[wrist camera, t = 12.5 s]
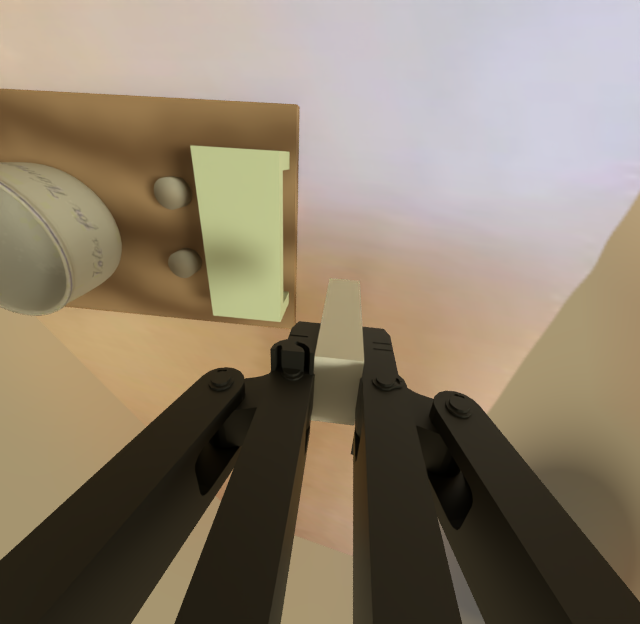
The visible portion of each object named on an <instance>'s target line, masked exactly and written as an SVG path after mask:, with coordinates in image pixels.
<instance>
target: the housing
mask: <svg viewBox="0 0 640 624" xmlns="http://www.w3.org/2000/svg"><path fill="white" fill-rule="evenodd" d="M190 148H191V155H192V163H193V170H194V177H195V185H196V192H197V199H198V207H199V214H200V222H201V229H202V236H203V244H204V251H205V258H206V266H207V273H208V281H209V288H210V295H211V303H212V310H213V315H214V316H224V317H234V318H244V319H254V320H264V321H274V322H281V320H282V318H283V315H284V313H285V311H286V308H287V306H288V304H289V292H283V170H288V169H289V158H290V152H286V151H270V150H255V149H239V148H223V147H207V146H191V145H190Z"/></svg>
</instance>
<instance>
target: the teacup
mask: <svg viewBox="0 0 640 624" xmlns="http://www.w3.org/2000/svg"><path fill="white" fill-rule="evenodd" d="M121 253H122V242H121V236H120V233H119V230H118V227H117V225H116V222H115V220H114V218H113V216H112V214H111V213H110V211H109V210H108V208H107V207H106V205H105V204H104V203H103V202H102V200H101V199H100V198H99V197H98V196H97V195H96V194H95V193H94V192H93V191H92V190H91V189H90V188H89V187H87V186H86V185H85V184H84V183H82V182H81V181H79V180H78V179H76V178H75V177H73V176H71V175H70V174H68V173H66V172H64V171H61V170H59V169H56V168H54V167H50V166H46V165H42V164H36V163H27V162H0V307H1V308H4V309H7V310H9V311H12V312H15V313H19V314H23V315H32V316H41V315H48V314H51V313H54V312H56V311H58V310H60V309H61V308H63V307H64V306H65V305H66V304H67V303H69V302H71V301H73V300H75V299H76V298H78V297H80V296H82V295H84V294H85V293H87V292H89V291H91V290H92V289H94V288H95V287H97V286H99V285H100V284H102V283H103V282H104V281H106V280H107V279H108V278H109V277H110V276H111V275H112V274H113V273H114V272H115V270H116V268H117V267H118V265H119V262H120V259H121Z"/></svg>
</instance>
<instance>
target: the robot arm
mask: <svg viewBox="0 0 640 624" xmlns="http://www.w3.org/2000/svg"><path fill="white" fill-rule="evenodd" d="M311 420H313V421H322V422H330V423H338V424H347V425H354V423H355V432H354V438H353V444H352V451H351V454H352V455H353V624H462V621H461V617H460V613H459V608H458V604H457V600H456V595H455V591H454V587H453V583H452V579H451V574H450V570H449V565H448V561H447V557H446V553H445V549H444V544H443V540H442V535H441V531H440V527H439V523H438V519H439V521H440V524H441V526H442V528H443V530H444V532H445V535H446V537H447V539H448V541H449V544H450V546H451V548H452V550H453V552H454V555H455V557H456V559H457V561H458V564H459V566H460V568H461V570H462V572H463V575H464V577H465V579H466V581H467V584H468V586H469V588H470V590H471V592H472V595H473V597H474V599H475V601H476V603H477V606H478V608H479V610H480V612H481V614H482V617H483V619H484V621H485V624H640V602H639V601H638V599H637V598H636V597H635V596H634V594H633V593H632V592H631V591H630V589H629V588H628V587H627V586H626V584H625V583H624V582H623V581H622V580H621V578H620V577H619V576H618V575H617V573H616V572H615V571H614V570H613V569H612V567H611V566H610V565H609V564H608V562H607V561H606V560H605V559H604V558H603V556H602V555H601V554H600V553H599V551H598V550H597V549H596V548H595V547H594V545H593V544H592V543H591V542H590V540H589V539H588V538H587V537H586V535H585V534H584V533H583V532H582V531H581V529H580V528H579V527H578V526H577V524H576V523H575V522H574V521H573V520H572V518H571V517H570V516H569V515H568V513H567V512H566V511H565V510H564V509H563V507H562V506H561V505H560V504H559V503H558V501H557V500H556V499H555V498H554V496H553V495H552V494H551V493H550V492H549V490H548V489H547V488H546V487H545V485H544V484H543V483H542V482H541V480H540V479H539V478H538V477H537V475H536V474H535V473H534V472H533V471H532V469H531V468H530V467H529V466H528V464H527V463H526V462H525V461H524V460H523V458H522V457H521V456H520V455H519V453H518V452H517V451H516V450H515V449H514V447H513V446H512V445H511V444H510V442H509V441H508V440H507V439H506V438H505V436H504V435H503V434H502V433H501V432H500V430H499V429H498V428H497V427H496V425H495V424H494V423H493V422H492V420H491V419H490V418H489V417H488V415H487V414H486V413H485V412H484V411H483V409H482V408H481V407H480V406H479V405H478V404H477V403H476V402H475V401H474V400H473V399H471V398H469V397H468V396H466V395H464V394H461V393H458V392H455V391H443V392H439V393H438V394H437V395H436V396H435V397H434V399H432V398H429V397H426V396H423V395H420V394H418V393H415V392H413V391H412V390H410V389H408V388H407V385H406V383H405V381H404V379H402V378H401V377H400V376H399V375H398V371H397V367H396V362H395V357H394V352H393V348H392V343H391V338H390V335H389V334H388V333H387V332H386V331H385V330H384V329H379V328H369V327H362V313H361V295H360V281H355V280H344V279H332V278H330V279H329V285H328V290H327V295H326V300H325V305H324V310H323V316H322V321H321V324H320V323H310V322H300V321H299V322H298V323H297V324H296V325H294V326H293V327H292V329H291V332H290V336H289V337H288V339H286V340H282V341H279V342H277V343H276V344H274V345H273V346H272V348H271V372H270V373H269V374H267V375H264V376H260V377H254V378H246V379H244V376H243V374H242V373H241V372H240V371H238V370H236V369H234V368H227V367H225V368H217V369H214V370H212V371H209V372H208V373H206V374H205V375H203V376H202V377H201V378H200V379H199V380H197V381H196V382H195V383H194V384H193V385H192V386H191V387H190V388H189V389H188V390H187V391H185V392H184V393H183V394H182V395H181V396H180V397H179V398H178V399H177V400H176V401H174V402H173V403H172V404H171V405H170V406H169V407H168V408H167V409H166V410H165V411H163V412H162V413H161V414H160V415H159V416H158V417H157V418H156V419H155V420H154V421H153V422H151V423H150V424H149V425H148V426H147V427H146V428H145V429H144V430H143V431H142V432H141V433H139V434H138V435H137V436H136V437H135V438H134V439H133V440H132V441H131V442H130V443H128V444H127V445H126V446H125V447H124V448H123V449H122V450H121V451H120V452H119V453H117V454H116V455H115V456H114V457H113V458H112V459H111V460H110V461H109V462H108V463H107V464H105V465H104V466H103V467H102V468H101V469H100V470H99V471H98V472H97V473H96V474H94V475H93V477H91V478H90V479H89V480H88V481H87V482H86V483H85V484H84V485H82V486H81V487H80V488H79V489H78V490H77V491H76V492H75V493H74V494H73V495H72V496H70V497H69V498H68V499H67V500H66V501H65V502H64V503H63V504H62V505H60V506H59V507H58V508H57V509H56V510H55V511H54V512H53V513H52V514H51V515H50V516H48V517H47V518H46V519H45V520H44V521H43V522H42V523H41V524H40V525H39V526H38V527H36V528H35V529H34V530H33V531H32V532H31V533H30V534H29V535H28V536H27V537H25V538H24V539H23V540H22V541H21V542H20V543H19V544H18V545H17V546H16V547H15V548H13V549H12V550H11V551H10V552H9V553H8V554H7V555H6V556H5V557H3V558H2V559H1V560H0V624H131V623H132V621H133V620H134V618H135V617H136V615H137V613H138V612H139V611H140V609H141V608H142V606H143V604H144V603H145V601H146V600H147V598H148V597H149V595H150V594H151V592H152V591H153V589H154V588H155V586H156V585H157V583H158V582H159V580H160V579H161V577H162V576H163V574H164V573H165V571H166V570H167V568H168V566H169V565H170V563H171V562H172V560H173V559H174V558H175V556H176V554H177V553H178V552H179V550H180V548H181V547H182V545H183V544H184V542H185V541H186V539H187V538H188V536H189V535H190V533H191V532H192V530H193V529H194V527H195V526H196V524H197V523H198V521H199V520H200V518H201V517H202V515H203V514H204V512H205V511H206V509H207V508H208V506H209V505H210V503H211V502H212V500H213V499H214V497H215V496H216V494H217V493H218V491H219V490H220V488H221V486H222V485H223V483H224V482H225V480H226V479H227V477H228V476H229V474H230V473H231V471H232V470H233V472H232V474H231V477H230V480H229V482H228V485H227V487H226V490H225V493H224V495H223V498H222V500H221V503H220V506H219V508H218V511H217V514H216V516H215V519H214V521H213V524H212V527H211V529H210V532H209V534H208V537H207V540H206V542H205V545H204V548H203V550H202V553H201V555H200V558H199V561H198V564H197V566H196V569H195V571H194V574H193V576H192V579H191V582H190V584H189V587H188V589H187V592H186V595H185V598H184V600H183V603H182V605H181V608H180V611H179V613H178V616H177V618H176V621H175V624H280V622H281V616H282V610H283V604H284V597H285V591H286V584H287V578H288V571H289V565H290V558H291V551H292V545H293V539H294V532H295V526H296V519H297V513H298V506H299V500H300V493H301V487H302V480H303V474H304V467H305V461H306V454H307V448H308V441H309V435H310V422H311ZM233 468H234V469H233ZM437 517H438V518H437Z"/></svg>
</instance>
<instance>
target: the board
mask: <svg viewBox="0 0 640 624" xmlns="http://www.w3.org/2000/svg"><path fill="white" fill-rule="evenodd" d="M190 145H191V146H207V147H223V148H239V149H255V150H270V151H286V152H290V158H289V169H288V170H283V292H289V304H288V306H287V308H286V311H285V313H284V315H283V318H282V320H281V322H274V321H264V320H254V319H244V318H234V317H224V316H214V315H213V310H212V303H211V295H210V288H209V281H208V273H207V266H206V258H205V251H204V244H203V236H202V229H201V222H200V214H199V207H198V199H197V192H196V185H195V177H194V170H193V163H192V155H191V148H190ZM298 160H299V106H298V105H296V104H278V103H259V102H240V101H221V100H203V99H184V98H165V97H146V96H128V95H109V94H90V93H71V92H53V91H34V90H15V89H0V162H27V163H36V164H42V165H46V166H50V167H54V168H56V169H59V170H61V171H64V172H66V173H68V174H70V175H71V176H73V177H75V178H76V179H78V180H79V181H81V182H82V183H84V184H85V185H86V186H87V187H89V188H90V189H91V190H92V191H93V192H94V193H95V194H96V195H97V196H98V197H99V198H100V199H101V200H102V202H103V203H104V204H105V205H106V207H107V208H108V210H109V211H110V213H111V214H112V216H113V218H114V220H115V222H116V225H117V227H118V230H119V233H120V236H121V242H122V253H121V259H120V262H119V265H118V267H117V268H116V270H115V272H114V273H113V274H112V275H111V276H110V277H109V278H108V279H107V280H106V281H104V282H103V283H102V284H100V285H99V286H97V287H95V288H94V289H92V290H91V291H89V292H87V293H85V294H84V295H82V296H80V297H78V298H76V299H75V300H73V301H71V302H69V303H67V304H66V305H65V307H75V308H85V309H95V310H105V311H114V312H124V313H134V314H144V315H154V316H164V317H174V318H184V319H194V320H204V321H214V322H224V323H234V324H244V325H254V326H264V327H274V328H284V329H292V327H293V326H294V325H295V324H296V270H297V215H298Z"/></svg>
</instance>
